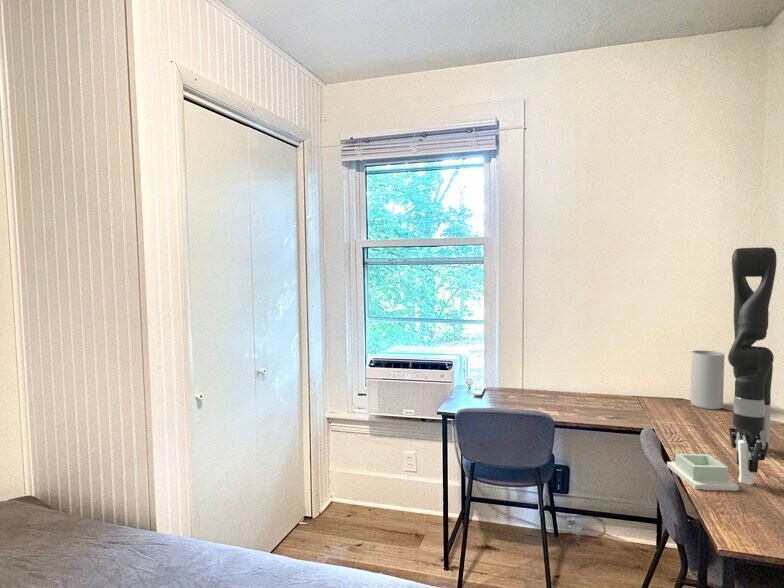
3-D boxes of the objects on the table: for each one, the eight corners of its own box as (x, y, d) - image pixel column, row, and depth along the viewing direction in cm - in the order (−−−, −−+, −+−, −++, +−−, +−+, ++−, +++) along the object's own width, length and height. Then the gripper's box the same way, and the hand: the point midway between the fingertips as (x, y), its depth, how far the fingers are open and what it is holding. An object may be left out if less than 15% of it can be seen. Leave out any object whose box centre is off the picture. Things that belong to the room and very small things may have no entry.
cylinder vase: (687, 405, 216) (688, 352, 215) (694, 400, 225) (695, 349, 224) (719, 411, 207) (721, 356, 206) (725, 405, 216) (727, 352, 215)
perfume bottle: (756, 481, 140) (757, 432, 139) (754, 486, 137) (756, 436, 136) (737, 477, 143) (738, 429, 142) (735, 481, 140) (736, 433, 139)
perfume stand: (666, 466, 151) (667, 449, 151) (705, 467, 150) (705, 450, 150) (695, 489, 135) (695, 471, 135) (738, 490, 135) (738, 472, 134)
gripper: (780, 420, 131) (777, 479, 132) (745, 405, 146) (743, 459, 146) (752, 419, 132) (750, 478, 133) (720, 405, 146) (718, 458, 147)
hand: (746, 467), depth 140 cm, fingers closed on perfume bottle, 4 cm apart
